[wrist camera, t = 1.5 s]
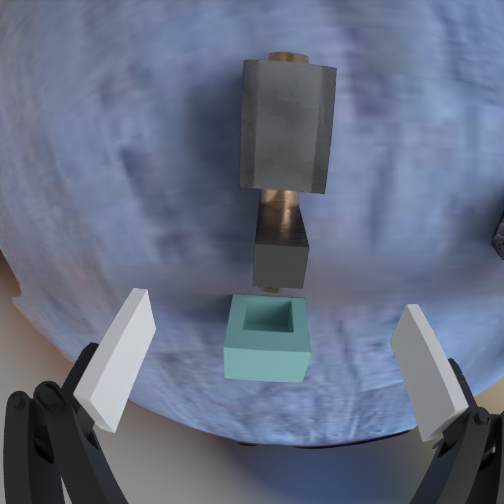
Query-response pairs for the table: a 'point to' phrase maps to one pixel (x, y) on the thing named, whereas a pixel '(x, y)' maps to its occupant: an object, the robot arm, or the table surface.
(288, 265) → the hammer
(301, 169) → the sleeve
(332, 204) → the table surface
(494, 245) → the stone
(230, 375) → the socket
